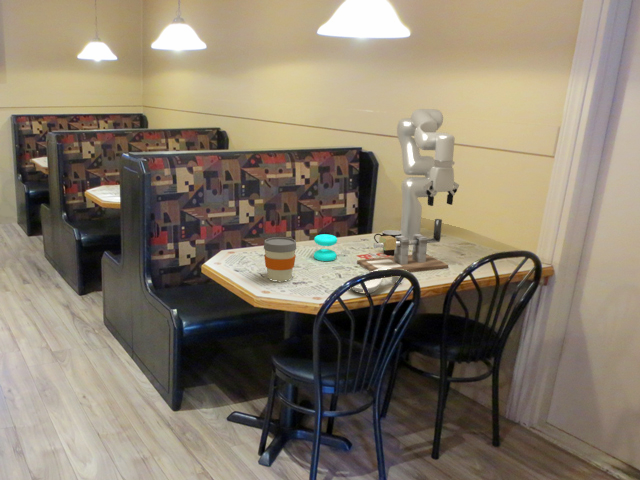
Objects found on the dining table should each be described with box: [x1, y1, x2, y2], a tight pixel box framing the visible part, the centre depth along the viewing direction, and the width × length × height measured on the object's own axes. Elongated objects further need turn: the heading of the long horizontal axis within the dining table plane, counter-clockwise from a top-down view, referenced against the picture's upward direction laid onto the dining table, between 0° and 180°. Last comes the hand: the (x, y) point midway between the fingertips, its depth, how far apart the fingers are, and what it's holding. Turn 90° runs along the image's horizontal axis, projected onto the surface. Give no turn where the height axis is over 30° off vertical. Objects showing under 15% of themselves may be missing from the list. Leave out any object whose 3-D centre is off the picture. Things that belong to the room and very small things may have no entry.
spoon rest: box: [351, 267, 399, 294], centre depth 221 cm, size 24×12×7 cm, turn 130°
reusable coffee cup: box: [263, 236, 297, 281], centre depth 227 cm, size 13×13×15 cm
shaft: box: [373, 218, 443, 249], centre depth 247 cm, size 3×32×10 cm, turn 114°
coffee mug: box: [373, 229, 402, 257], centre depth 267 cm, size 12×9×10 cm
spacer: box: [378, 235, 396, 250], centre depth 244 cm, size 5×5×5 cm
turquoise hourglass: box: [313, 233, 338, 262], centre depth 256 cm, size 10×10×10 cm
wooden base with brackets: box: [356, 233, 449, 273], centre depth 248 cm, size 18×34×12 cm, turn 114°
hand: (439, 204), depth 250 cm, fingers open, 9 cm apart
